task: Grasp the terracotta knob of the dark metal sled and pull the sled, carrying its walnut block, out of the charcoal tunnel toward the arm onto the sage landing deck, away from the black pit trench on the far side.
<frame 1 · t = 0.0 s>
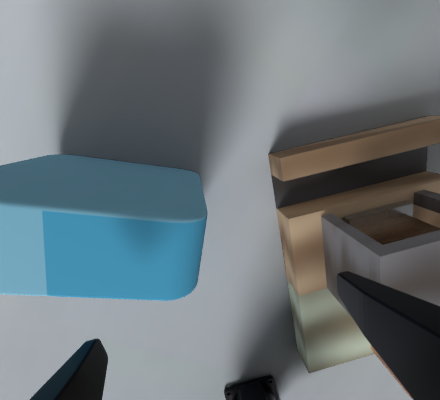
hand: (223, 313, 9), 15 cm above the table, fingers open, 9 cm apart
data package: (130, 186, 22), on the table
sled: (399, 300, 22), point 6 cm above the table, slide at 0.0 cm
tunnel: (353, 228, 26), on the table
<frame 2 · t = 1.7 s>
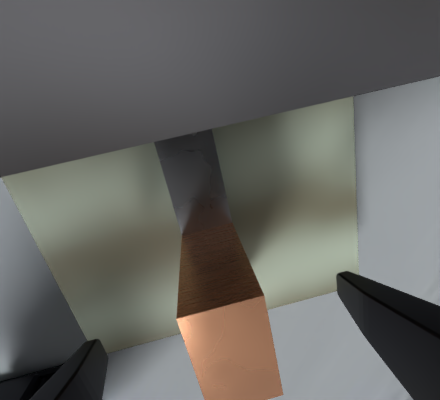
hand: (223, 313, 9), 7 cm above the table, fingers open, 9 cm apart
sled: (183, 146, 8), point 6 cm above the table, slide at 0.0 cm
tunnel: (163, 47, 12), on the table
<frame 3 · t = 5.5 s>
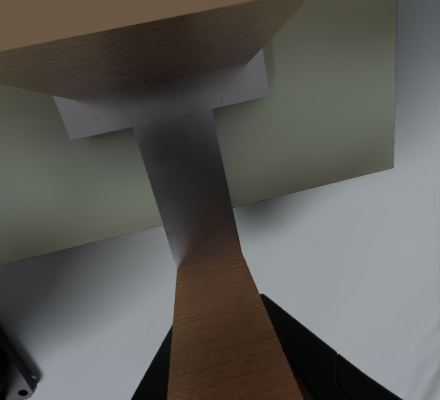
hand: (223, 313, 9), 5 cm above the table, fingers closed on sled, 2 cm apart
sled: (178, 160, 5), point 6 cm above the table, slide at 7.9 cm, touching gripper
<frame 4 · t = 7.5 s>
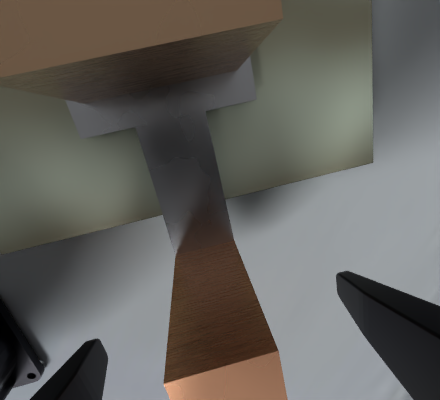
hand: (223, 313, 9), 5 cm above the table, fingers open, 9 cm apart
sled: (175, 155, 6), point 6 cm above the table, slide at 7.9 cm
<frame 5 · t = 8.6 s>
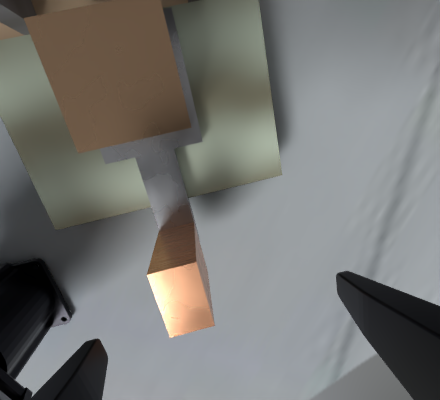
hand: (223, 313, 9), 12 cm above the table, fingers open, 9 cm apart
sled: (154, 175, 13), point 6 cm above the table, slide at 7.9 cm
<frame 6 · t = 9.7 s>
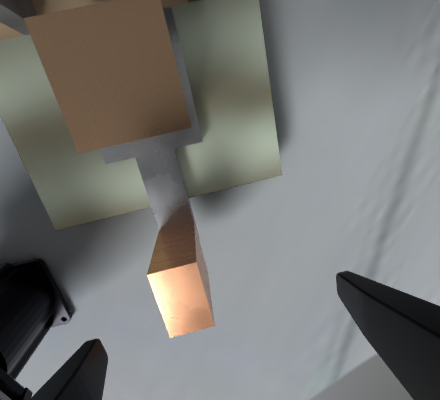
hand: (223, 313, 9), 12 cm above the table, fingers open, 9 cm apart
sled: (155, 175, 13), point 6 cm above the table, slide at 7.9 cm
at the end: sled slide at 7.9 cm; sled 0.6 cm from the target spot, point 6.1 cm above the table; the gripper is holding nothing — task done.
